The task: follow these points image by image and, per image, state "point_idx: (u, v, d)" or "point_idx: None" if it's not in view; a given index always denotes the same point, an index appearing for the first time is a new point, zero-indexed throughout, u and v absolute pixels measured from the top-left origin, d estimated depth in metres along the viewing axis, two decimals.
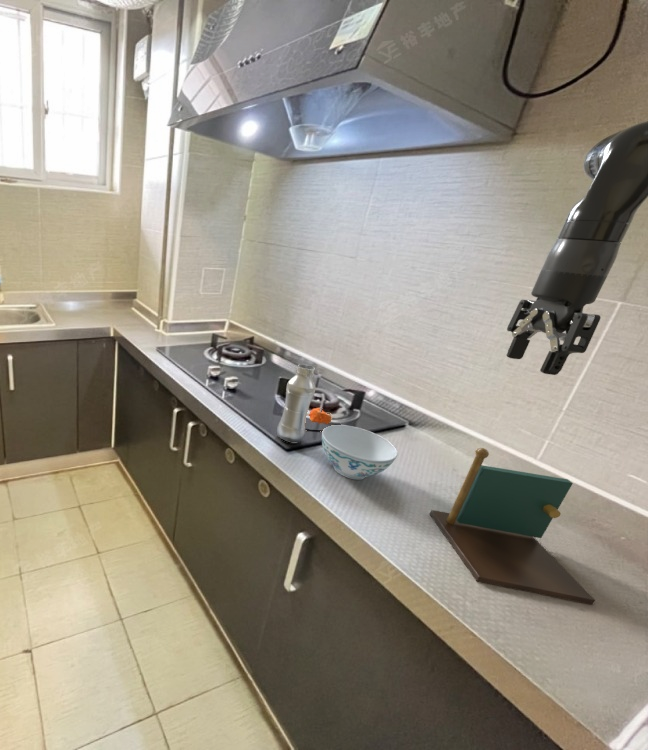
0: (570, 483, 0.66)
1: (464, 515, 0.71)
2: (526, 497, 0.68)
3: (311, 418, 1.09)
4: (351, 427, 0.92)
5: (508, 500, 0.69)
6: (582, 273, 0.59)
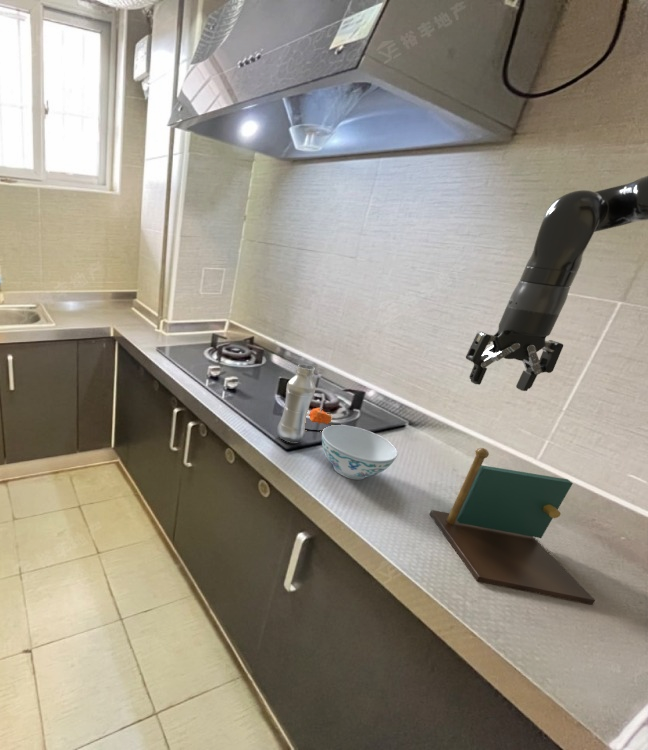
0: (570, 483, 0.66)
1: (464, 515, 0.71)
2: (526, 497, 0.68)
3: (311, 418, 1.09)
4: (351, 427, 0.92)
5: (508, 500, 0.69)
6: (507, 305, 0.75)
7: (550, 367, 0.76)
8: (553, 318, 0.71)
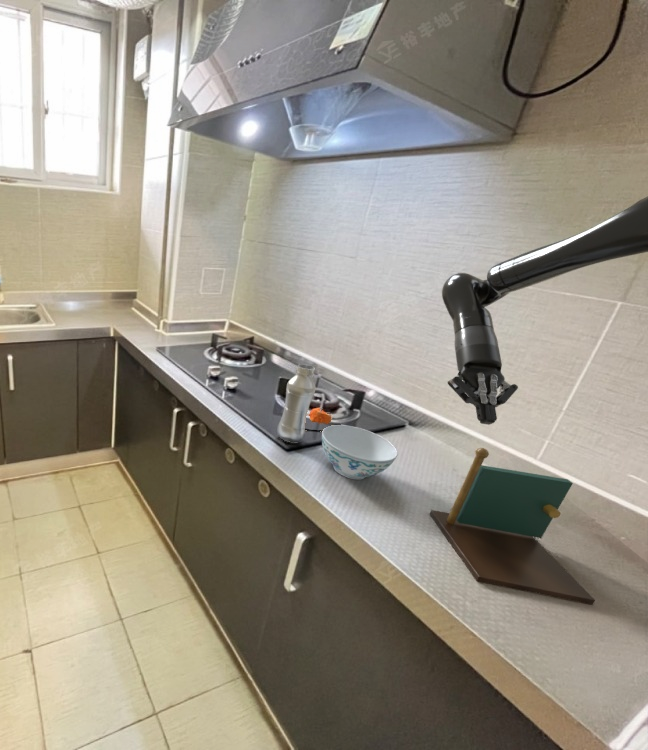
0: (570, 483, 0.66)
1: (464, 515, 0.71)
2: (526, 497, 0.68)
3: (311, 418, 1.09)
4: (351, 427, 0.92)
5: (508, 500, 0.69)
6: (456, 352, 0.89)
7: (503, 399, 0.82)
8: (495, 348, 0.84)
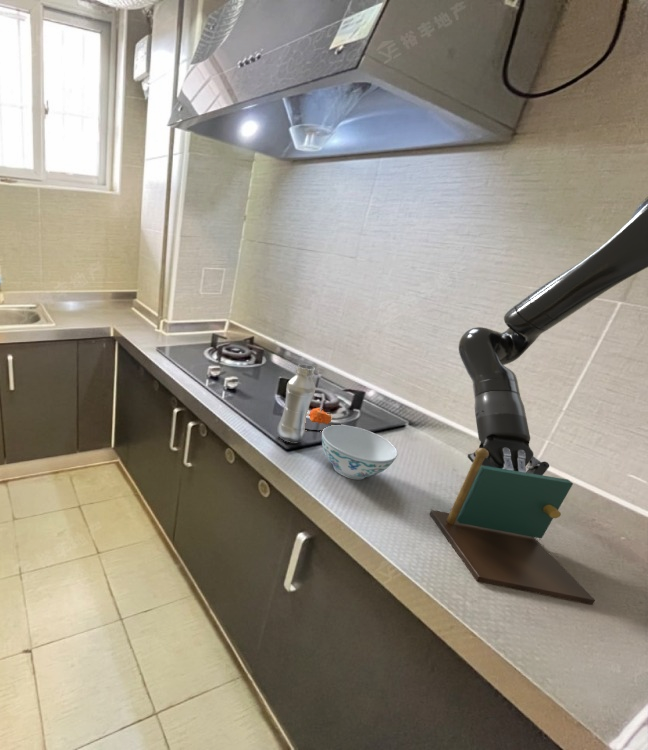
0: (570, 483, 0.66)
1: (464, 515, 0.71)
2: (526, 497, 0.68)
3: (311, 418, 1.09)
4: (351, 427, 0.92)
5: (508, 500, 0.69)
6: (476, 418, 0.79)
7: None
8: (523, 419, 0.74)
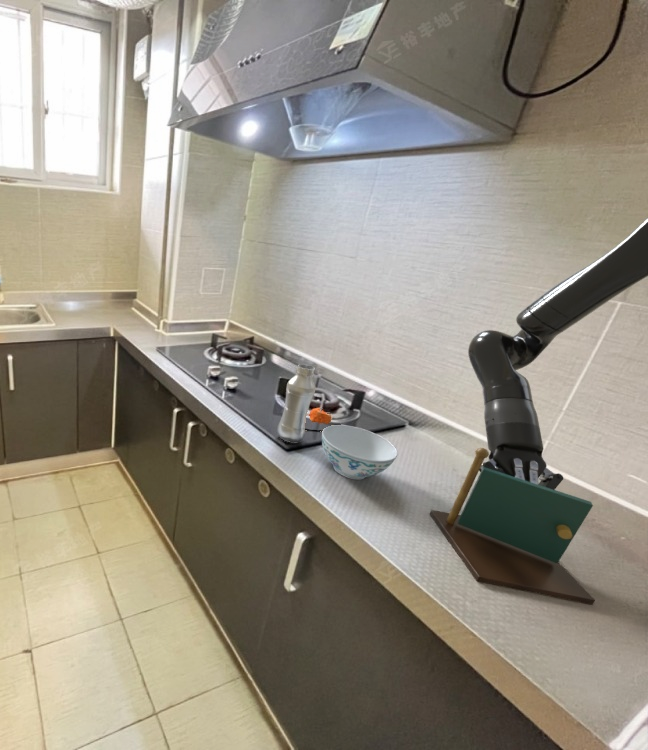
0: (590, 505, 0.60)
1: (463, 516, 0.71)
2: (535, 511, 0.65)
3: (311, 418, 1.09)
4: (351, 427, 0.92)
5: (513, 509, 0.66)
6: (486, 426, 0.75)
7: None
8: (536, 429, 0.70)
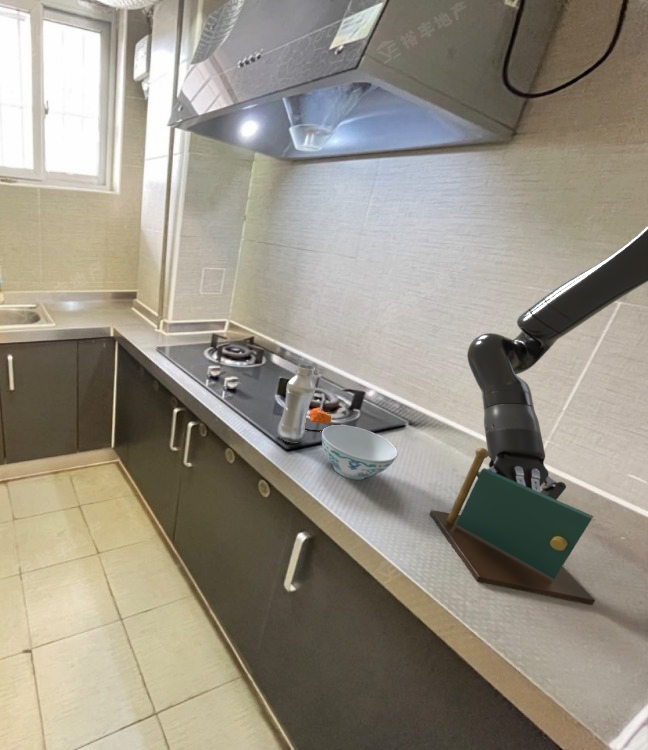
0: (588, 518, 0.57)
1: (461, 517, 0.71)
2: (531, 518, 0.63)
3: (311, 418, 1.09)
4: (351, 427, 0.92)
5: (510, 515, 0.65)
6: (486, 433, 0.73)
7: None
8: (538, 435, 0.68)
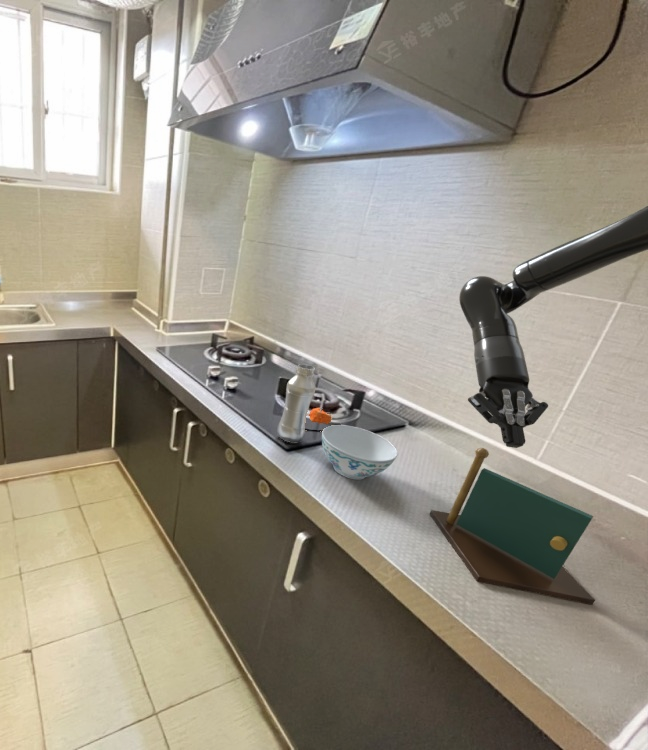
0: (588, 518, 0.57)
1: (461, 517, 0.71)
2: (531, 518, 0.63)
3: (311, 418, 1.09)
4: (351, 427, 0.92)
5: (510, 515, 0.65)
6: (476, 364, 0.80)
7: (531, 419, 0.73)
8: (522, 361, 0.75)
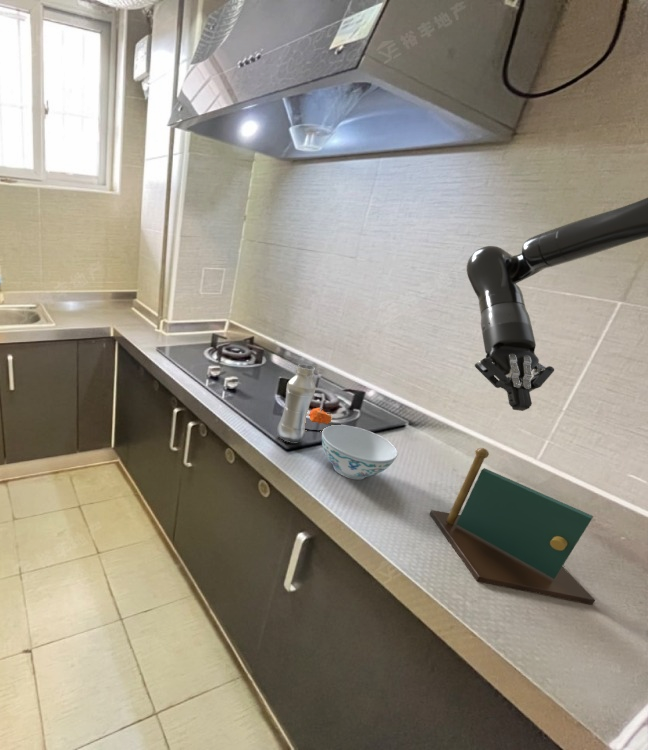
0: (588, 518, 0.57)
1: (461, 517, 0.71)
2: (531, 518, 0.63)
3: (311, 418, 1.09)
4: (351, 427, 0.92)
5: (510, 515, 0.65)
6: (483, 332, 0.81)
7: (538, 382, 0.74)
8: (529, 327, 0.76)
